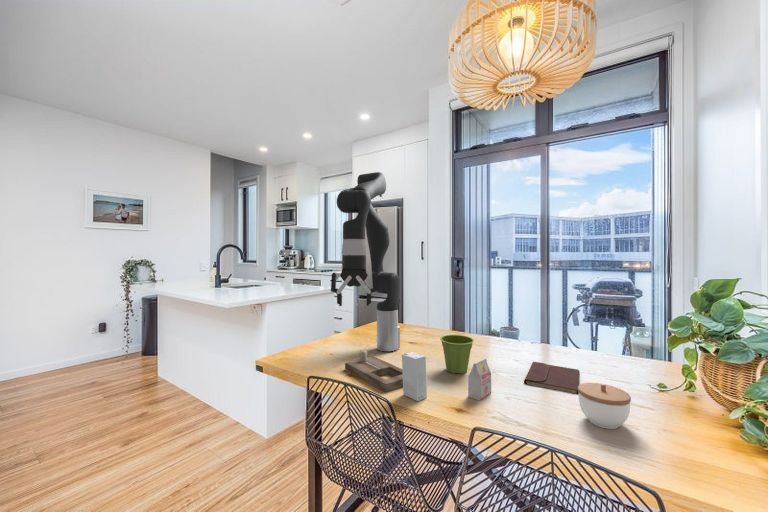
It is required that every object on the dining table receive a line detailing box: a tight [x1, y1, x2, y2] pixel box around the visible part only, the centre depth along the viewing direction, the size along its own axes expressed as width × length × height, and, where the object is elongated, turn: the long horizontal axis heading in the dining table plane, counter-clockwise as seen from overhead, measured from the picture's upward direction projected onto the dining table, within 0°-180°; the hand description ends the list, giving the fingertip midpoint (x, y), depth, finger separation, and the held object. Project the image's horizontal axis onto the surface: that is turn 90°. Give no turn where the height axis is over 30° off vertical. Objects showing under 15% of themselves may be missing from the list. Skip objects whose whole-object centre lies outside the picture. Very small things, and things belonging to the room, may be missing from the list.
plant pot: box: [439, 334, 475, 374], centre depth 115 cm, size 12×12×11 cm
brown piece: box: [344, 350, 403, 393], centre depth 110 cm, size 12×24×6 cm, turn 37°
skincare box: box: [401, 351, 428, 402], centre depth 94 cm, size 6×4×12 cm
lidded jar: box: [577, 382, 632, 430], centre depth 79 cm, size 11×11×9 cm
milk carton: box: [467, 358, 492, 401], centre depth 95 cm, size 4×7×10 cm, turn 135°
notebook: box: [523, 361, 580, 395], centre depth 108 cm, size 15×20×2 cm
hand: (354, 305), depth 101 cm, fingers open, 8 cm apart
